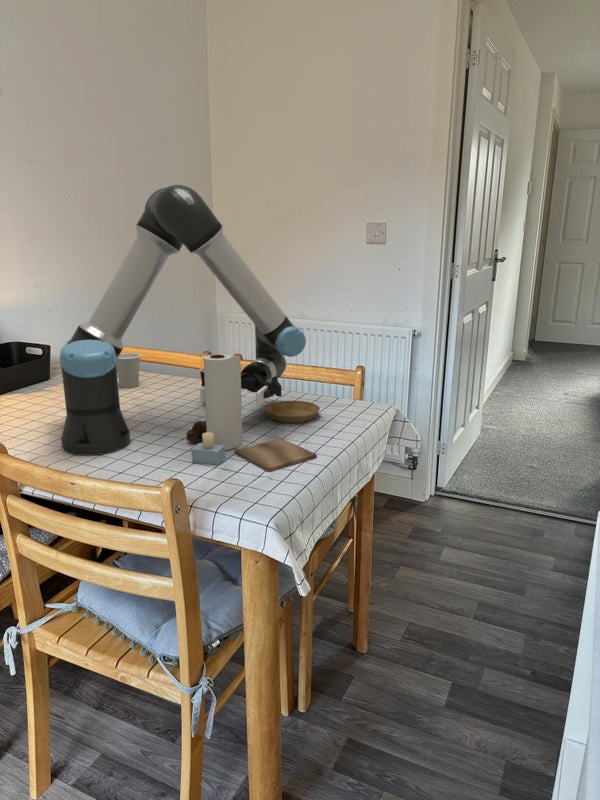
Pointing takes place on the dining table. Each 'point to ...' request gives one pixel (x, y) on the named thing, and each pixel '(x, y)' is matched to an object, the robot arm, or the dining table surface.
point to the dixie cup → (128, 369)
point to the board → (275, 454)
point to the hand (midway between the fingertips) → (229, 396)
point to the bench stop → (208, 451)
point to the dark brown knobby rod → (196, 431)
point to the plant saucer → (292, 411)
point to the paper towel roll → (223, 399)
